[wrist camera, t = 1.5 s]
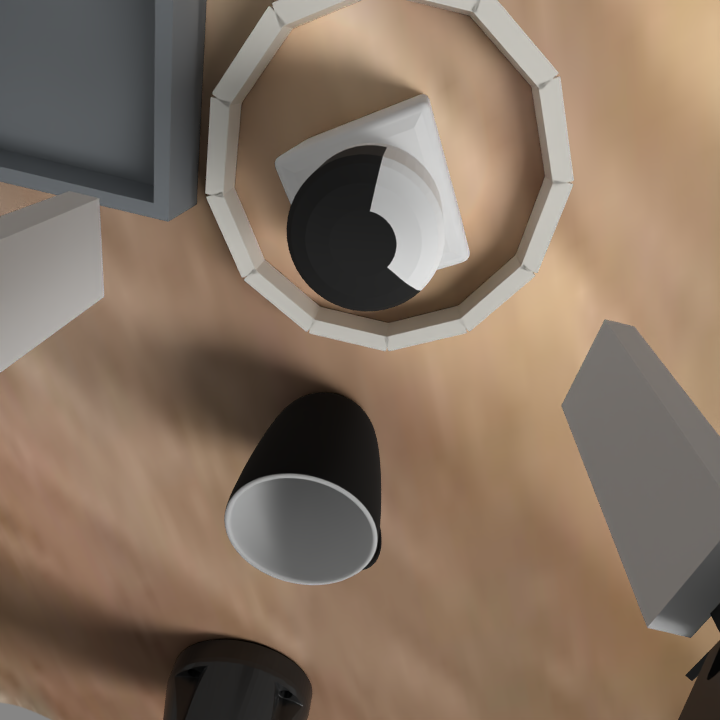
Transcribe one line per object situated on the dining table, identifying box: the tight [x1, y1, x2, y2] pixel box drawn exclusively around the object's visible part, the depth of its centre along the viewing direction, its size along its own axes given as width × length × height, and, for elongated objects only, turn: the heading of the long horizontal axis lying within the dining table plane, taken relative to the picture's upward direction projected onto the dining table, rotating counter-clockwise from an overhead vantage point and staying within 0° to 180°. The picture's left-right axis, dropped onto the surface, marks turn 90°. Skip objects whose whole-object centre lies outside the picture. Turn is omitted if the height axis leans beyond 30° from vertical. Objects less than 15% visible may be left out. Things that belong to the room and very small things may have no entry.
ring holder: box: [205, 0, 574, 351], centre depth 29 cm, size 19×19×2 cm
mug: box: [225, 393, 381, 585], centre depth 35 cm, size 12×9×10 cm
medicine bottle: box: [275, 94, 470, 311], centre depth 24 cm, size 7×7×12 cm
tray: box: [0, 0, 207, 221], centre depth 26 cm, size 14×14×4 cm
